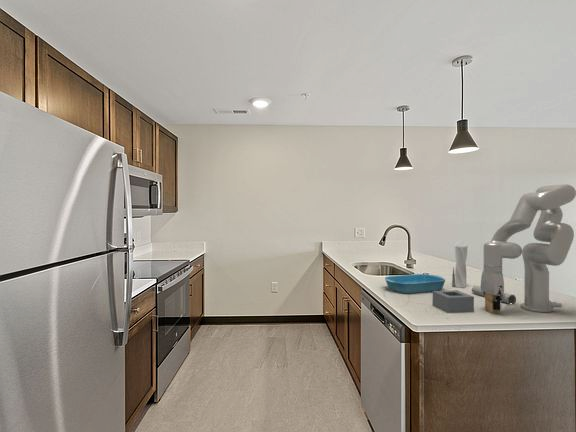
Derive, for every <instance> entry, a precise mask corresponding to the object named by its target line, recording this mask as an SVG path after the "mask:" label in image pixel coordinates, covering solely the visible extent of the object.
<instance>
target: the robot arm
mask: <svg viewBox="0 0 576 432" xmlns="http://www.w3.org/2000/svg"><path fill="white" fill-rule="evenodd" d="M575 198H576V189H575V187H574V186H572V185H570V184H555V185H554V184H553V185H544V186H543V185H542V186H541V187H538V188H536V190H535V192H527V193H524V194H523V195H521V197H520V198H519V200H518V203H517V205H516V207H515V209H514V211H513V213H512V215H511V217H510V219H509V220H508V221H507V222H505V223H504V224H502V226H501V227H500V228H498V229H497V230H496V231H495V233H494V234H493V236H492V238H491V241H490V242H485V243H484V244H483V270H482V271H481V277H480V287H481V290H482V292H483V293H484V297H483V298H485V292H486V293H489V294H492V295H493V296H494V301H493V309H494V310H500V311H501V303H500V301H501V300H502V299H503V298H504V297H505V294H504V293H505V280H504V274H503V259H513V260H514V259H518V258H520V256H521V255H522V259H523V265H524V267H523V268H524V286H523V287H524V290H523V291H524V295H523V296H524V298H523V299H524V301H523V302H522V303H520V308H521V309H524V310H527V311H531V312H538V313H539V312H540V313H552V312H554V308H562V307H563V304H562V303H561V302H560V303H559V302H555V301H551V300H550V271H549V268H548V267H547V266H554V267H555V266H560V265H562V264H563V263H564V262H565V260H566V259H567V258H568V257H567V256H568V254H569V252H570V249H571V246H572V244H573V241H574V238H575V233H574V232H575V231H574V229H573V227H572V226H571V224H570V225H569V224H568V223H564V222H562V219H563V217H564V215H563V210H562V208H561V207H562V206H564V205H568V204H569V203H571V202H572V201H574V199H575ZM539 211H540V214H539V218H538V219H537V222H536V225H535V227H534V230H533V235H532V236H533V238H534V239H535V240H536V241H539V242H542V243H539V242H529V243H526V244H525V245H524V246H523V248H522V247H521V246H520V244H518V243H515V242H509V241H508V240H509V239H510V238H511V237H513V235H515V234H517V233H520V232H523V231H525V230H527V229H529V228H530V227H531V226H532V223H533V221H534V219H535V217H536V215H537V213H538V212H539ZM543 242H544V243H543ZM496 296H498V297H496Z"/></svg>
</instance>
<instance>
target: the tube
mask: <svg viewBox="0 0 576 432" xmlns="http://www.w3.org/2000/svg"><path fill="white" fill-rule="evenodd" d="M471 292H472V293H473V294H474V295H477V296H480V297H483V298H485V297H484V293H483V292H482V290H481V285H474V286H472V288H471ZM504 294H505V297H504V298H503V299H502V300H501V303H503V302H504V304H507V305H509V304H510V303H512V304H511V305H515V304H516V303H517V297H516V296H515V294H511V293H507V292H504Z"/></svg>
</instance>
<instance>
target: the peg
mask: <svg viewBox="0 0 576 432" xmlns="http://www.w3.org/2000/svg"><path fill="white" fill-rule="evenodd" d="M496 297H498V296H496ZM493 301H494V296H493V295H492V294H489V293H486V292H485V297H484V311H486V312H488V313H490V314H501V309H500V310H494V309H493ZM501 303H502V302H501V301H500V304H501Z"/></svg>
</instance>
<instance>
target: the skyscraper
mask: <svg viewBox="0 0 576 432" xmlns="http://www.w3.org/2000/svg"><path fill="white" fill-rule="evenodd" d="M459 243H460V244H459ZM457 244H458V245H457ZM467 256H468V245H466V244H465V245H464V242H463V241H458V242H456V243H455V244H454V257H455V267H454V266H453V268H452V278H451V280H452V282H451V283H452V284H451V287H452V288H458V289H465V288H466V287H467V265H466V261H467V258H468V257H467Z"/></svg>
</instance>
